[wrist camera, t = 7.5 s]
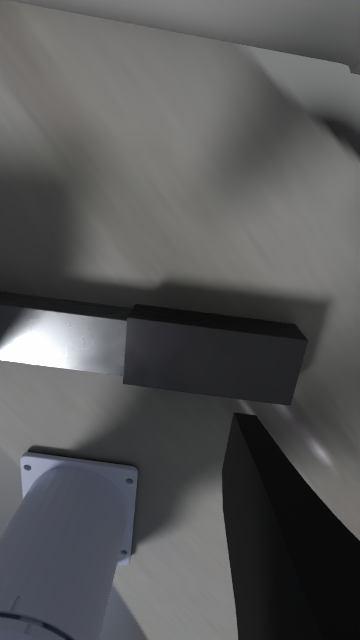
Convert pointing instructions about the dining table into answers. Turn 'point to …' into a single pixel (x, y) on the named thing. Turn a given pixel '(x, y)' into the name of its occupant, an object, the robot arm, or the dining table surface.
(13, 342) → the bar
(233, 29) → the tube
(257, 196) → the dining table surface
